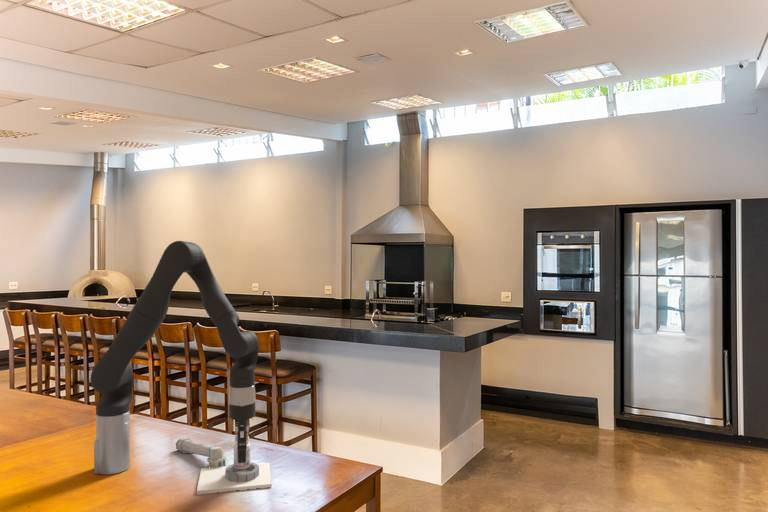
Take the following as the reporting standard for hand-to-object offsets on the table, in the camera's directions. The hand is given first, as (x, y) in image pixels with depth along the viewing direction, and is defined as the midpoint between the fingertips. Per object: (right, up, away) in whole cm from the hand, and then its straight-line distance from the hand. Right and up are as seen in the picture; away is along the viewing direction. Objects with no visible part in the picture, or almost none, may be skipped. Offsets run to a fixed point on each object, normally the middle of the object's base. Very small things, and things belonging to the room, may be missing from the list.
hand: (242, 458), depth 165 cm
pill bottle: (0, -2, 0) cm, 2 cm away
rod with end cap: (-17, -6, +15) cm, 24 cm away
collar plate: (-2, -6, 0) cm, 6 cm away
